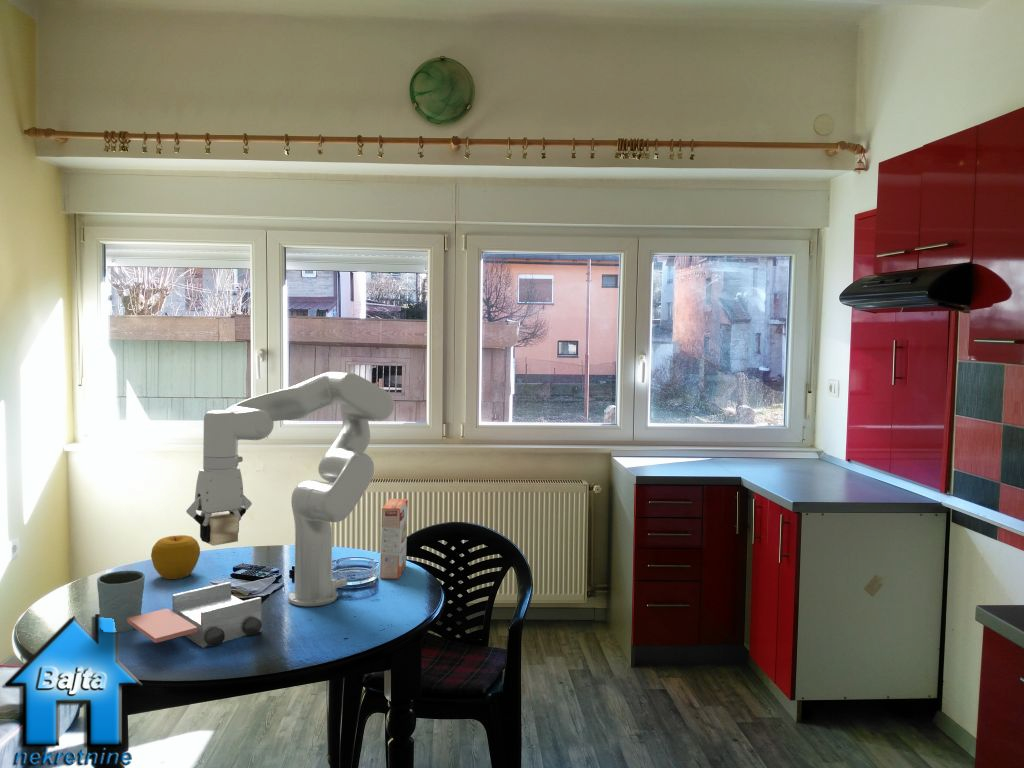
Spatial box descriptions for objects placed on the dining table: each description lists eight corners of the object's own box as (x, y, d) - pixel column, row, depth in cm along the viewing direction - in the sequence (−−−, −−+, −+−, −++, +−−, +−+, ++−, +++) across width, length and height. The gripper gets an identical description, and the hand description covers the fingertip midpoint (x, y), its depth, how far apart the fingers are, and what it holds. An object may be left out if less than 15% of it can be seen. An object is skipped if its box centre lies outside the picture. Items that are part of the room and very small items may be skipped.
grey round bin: (112, 617, 185) (112, 569, 184) (153, 619, 185) (153, 570, 184) (88, 633, 175) (87, 582, 174) (131, 635, 174) (130, 584, 174)
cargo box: (226, 536, 183) (226, 511, 182) (237, 541, 178) (238, 516, 178) (201, 540, 178) (201, 515, 178) (213, 545, 174) (213, 519, 174)
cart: (226, 612, 190) (227, 580, 190) (263, 632, 178) (263, 599, 177) (170, 626, 180) (170, 593, 180) (205, 649, 168) (205, 614, 167)
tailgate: (167, 608, 178) (126, 618, 172) (197, 627, 167) (155, 638, 161) (167, 614, 178) (127, 624, 172) (197, 633, 167) (155, 644, 161)
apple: (142, 576, 216) (142, 537, 215) (184, 566, 227) (184, 528, 226) (167, 586, 209) (167, 545, 208) (209, 574, 219) (209, 535, 219)
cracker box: (400, 580, 219) (401, 508, 218) (379, 579, 219) (380, 507, 218) (407, 565, 233) (408, 498, 232) (387, 565, 233) (388, 497, 232)
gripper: (247, 458, 186) (246, 530, 187) (176, 464, 174) (175, 542, 175) (262, 461, 181) (261, 536, 182) (190, 468, 168) (190, 548, 169)
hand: (219, 538), depth 178 cm, fingers closed on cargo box, 6 cm apart
